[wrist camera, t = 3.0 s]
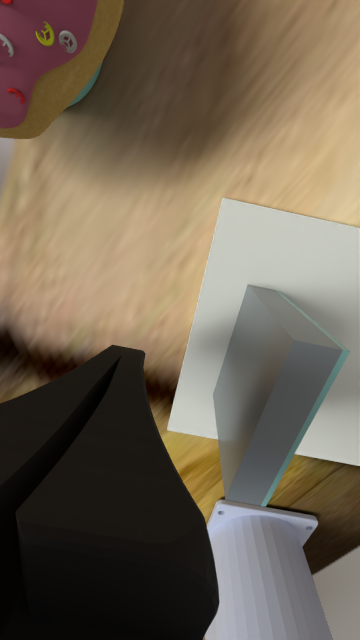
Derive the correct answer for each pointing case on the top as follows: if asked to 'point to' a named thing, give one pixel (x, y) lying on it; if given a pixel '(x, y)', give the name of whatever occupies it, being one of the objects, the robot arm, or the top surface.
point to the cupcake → (50, 58)
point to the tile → (269, 391)
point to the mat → (300, 288)
